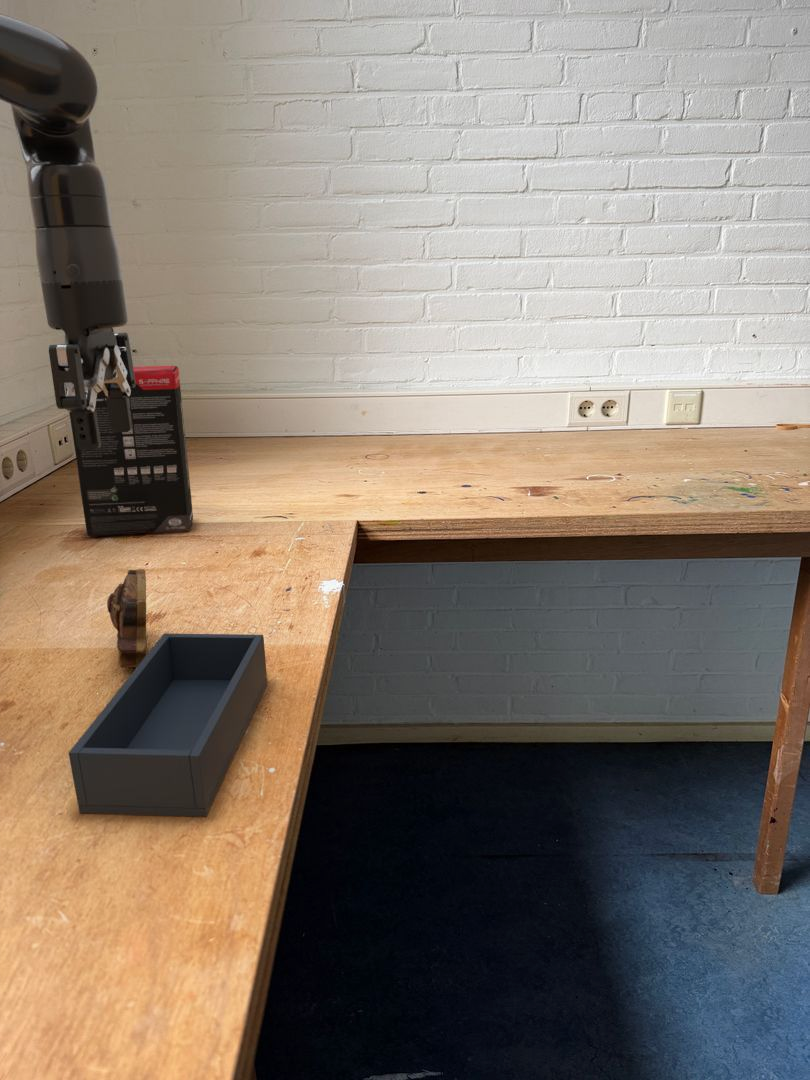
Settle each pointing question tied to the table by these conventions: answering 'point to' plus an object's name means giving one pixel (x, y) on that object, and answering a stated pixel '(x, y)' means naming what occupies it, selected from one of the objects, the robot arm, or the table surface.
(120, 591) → the wooden carving
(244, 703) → the bin
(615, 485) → the table surface
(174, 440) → the graphics card box
